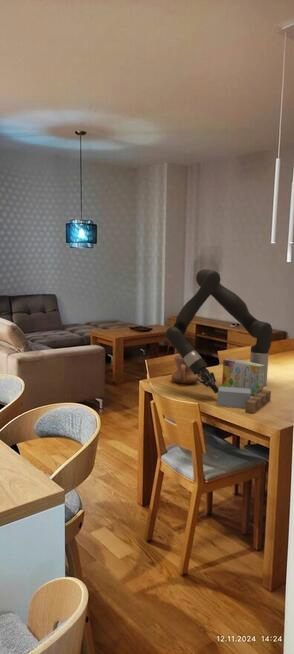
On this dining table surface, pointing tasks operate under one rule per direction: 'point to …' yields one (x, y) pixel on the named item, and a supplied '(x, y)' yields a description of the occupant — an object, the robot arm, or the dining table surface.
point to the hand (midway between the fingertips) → (217, 392)
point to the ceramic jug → (183, 372)
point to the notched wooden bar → (257, 401)
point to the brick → (233, 397)
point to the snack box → (243, 375)
